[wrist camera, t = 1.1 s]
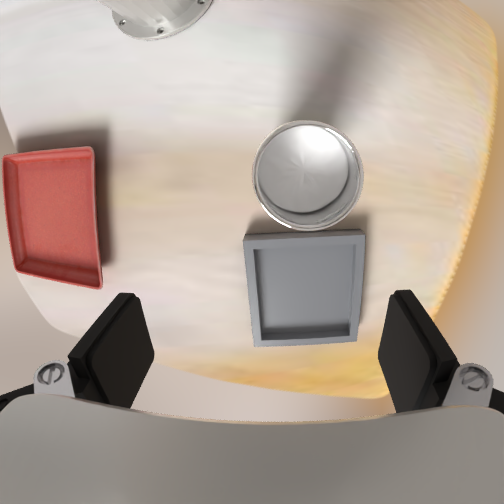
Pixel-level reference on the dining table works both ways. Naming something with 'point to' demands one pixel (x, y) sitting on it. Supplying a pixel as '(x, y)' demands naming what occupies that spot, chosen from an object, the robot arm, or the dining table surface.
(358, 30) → the dining table surface
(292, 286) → the serving tray
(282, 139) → the beer glass
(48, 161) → the plant saucer
